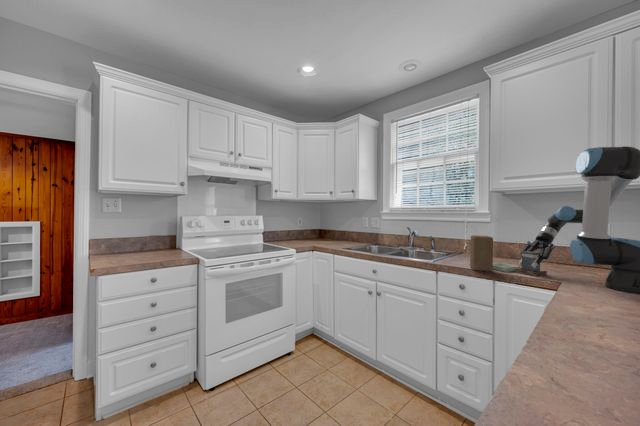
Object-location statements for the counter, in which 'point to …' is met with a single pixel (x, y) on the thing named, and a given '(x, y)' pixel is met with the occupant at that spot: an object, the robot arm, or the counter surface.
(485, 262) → the wooden block
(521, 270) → the cradle
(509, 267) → the tray
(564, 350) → the counter surface
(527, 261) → the caddy
